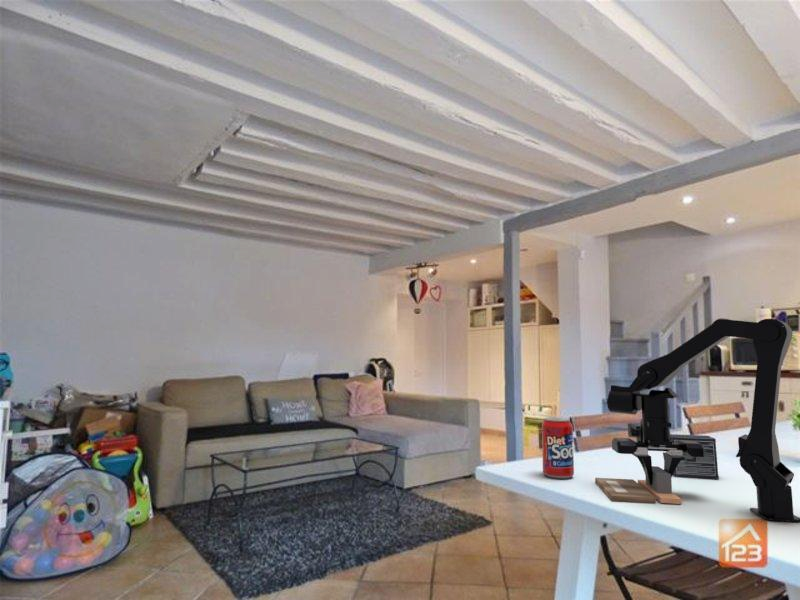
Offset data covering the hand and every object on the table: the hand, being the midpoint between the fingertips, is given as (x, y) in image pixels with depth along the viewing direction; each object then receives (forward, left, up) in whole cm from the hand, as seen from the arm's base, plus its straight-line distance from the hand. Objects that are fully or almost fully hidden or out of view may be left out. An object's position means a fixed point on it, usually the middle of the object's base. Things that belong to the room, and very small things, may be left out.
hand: (658, 485), depth 115 cm
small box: (+21, -16, -2) cm, 26 cm away
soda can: (+13, +20, -2) cm, 24 cm away
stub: (0, 0, -2) cm, 2 cm away
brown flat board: (0, +8, -2) cm, 8 cm away
